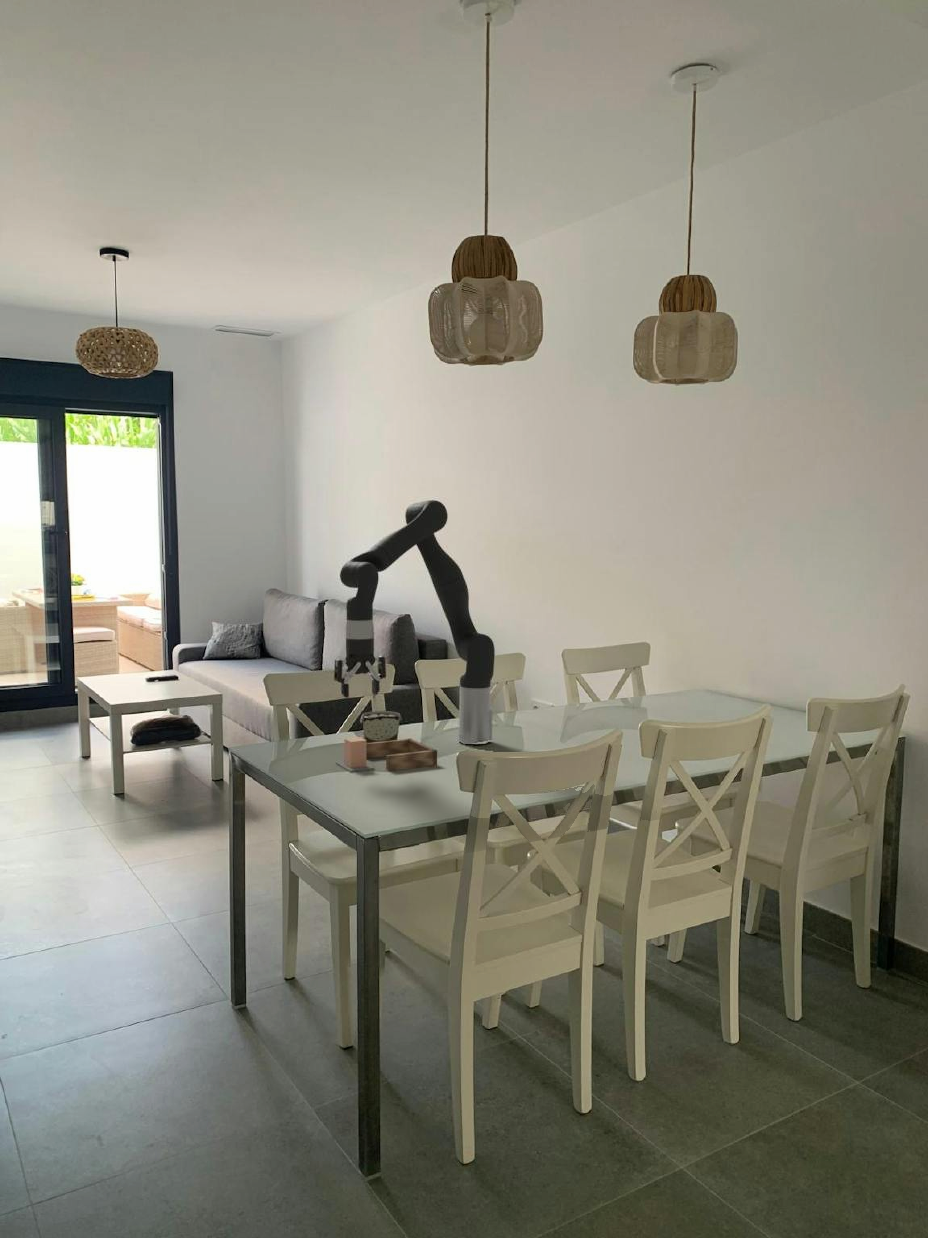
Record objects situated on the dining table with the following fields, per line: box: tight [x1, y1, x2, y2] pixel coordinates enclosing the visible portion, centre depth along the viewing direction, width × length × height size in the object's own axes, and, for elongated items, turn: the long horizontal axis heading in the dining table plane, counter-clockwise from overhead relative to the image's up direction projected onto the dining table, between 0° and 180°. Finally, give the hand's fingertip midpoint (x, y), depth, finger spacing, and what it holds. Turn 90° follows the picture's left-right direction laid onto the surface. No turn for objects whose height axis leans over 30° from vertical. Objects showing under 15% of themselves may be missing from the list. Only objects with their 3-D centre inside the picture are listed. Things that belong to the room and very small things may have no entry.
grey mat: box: [335, 760, 375, 773], centre depth 260 cm, size 7×10×1 cm
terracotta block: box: [343, 736, 367, 768], centre depth 260 cm, size 4×4×7 cm
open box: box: [366, 738, 438, 772], centre depth 266 cm, size 15×16×4 cm
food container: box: [360, 710, 403, 743], centre depth 284 cm, size 12×6×10 cm, turn 111°
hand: (360, 695), depth 261 cm, fingers open, 8 cm apart
